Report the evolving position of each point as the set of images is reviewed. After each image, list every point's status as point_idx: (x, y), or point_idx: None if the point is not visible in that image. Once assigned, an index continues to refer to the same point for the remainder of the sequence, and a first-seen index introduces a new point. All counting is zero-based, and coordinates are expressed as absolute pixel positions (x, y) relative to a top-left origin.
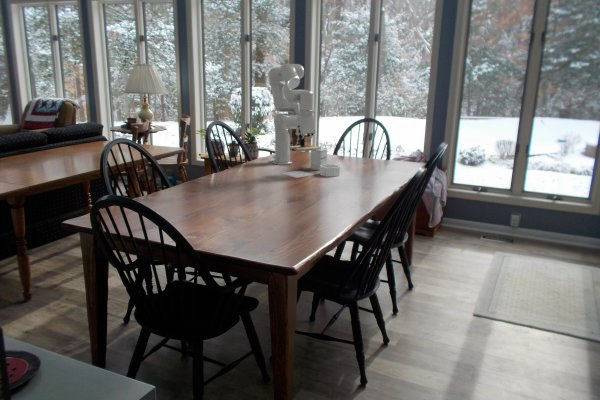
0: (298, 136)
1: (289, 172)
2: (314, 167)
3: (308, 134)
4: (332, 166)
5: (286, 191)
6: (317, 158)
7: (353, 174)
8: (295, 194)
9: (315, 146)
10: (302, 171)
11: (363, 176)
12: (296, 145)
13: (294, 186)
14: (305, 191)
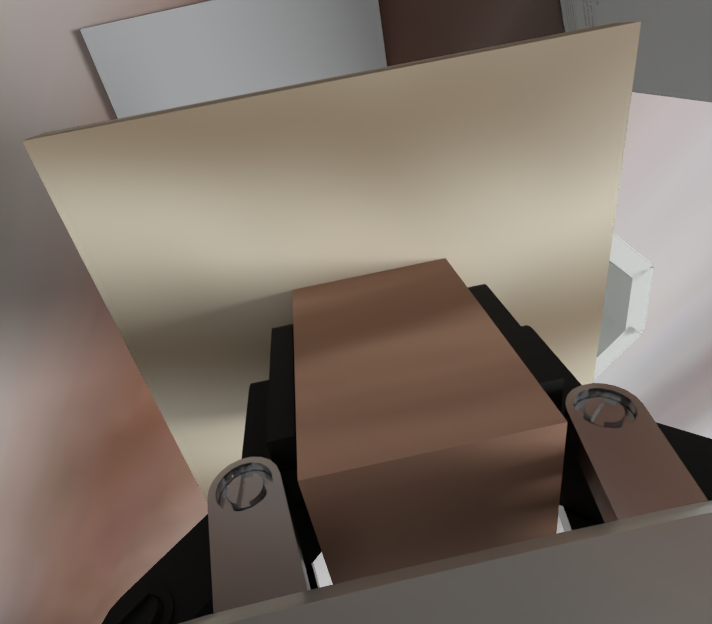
0: (143, 597)
1: (203, 27)
2: (575, 2)
3: (650, 500)
4: (616, 266)
5: (8, 546)
6: (660, 47)
7: (681, 318)
8: (51, 592)
9: (569, 363)
10: (377, 46)
11: (675, 386)
12: (274, 97)
13: (93, 474)
14: (129, 562)
